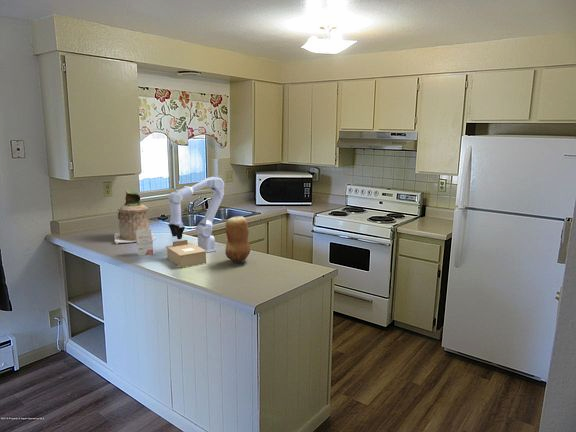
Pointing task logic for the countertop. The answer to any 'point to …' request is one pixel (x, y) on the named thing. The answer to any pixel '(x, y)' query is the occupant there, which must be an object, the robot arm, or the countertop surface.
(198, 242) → the robot arm
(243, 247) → the butternut squash
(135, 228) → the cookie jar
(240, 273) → the countertop surface
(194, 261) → the mailer box
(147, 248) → the ink cartridge box
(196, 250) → the mailer lid
